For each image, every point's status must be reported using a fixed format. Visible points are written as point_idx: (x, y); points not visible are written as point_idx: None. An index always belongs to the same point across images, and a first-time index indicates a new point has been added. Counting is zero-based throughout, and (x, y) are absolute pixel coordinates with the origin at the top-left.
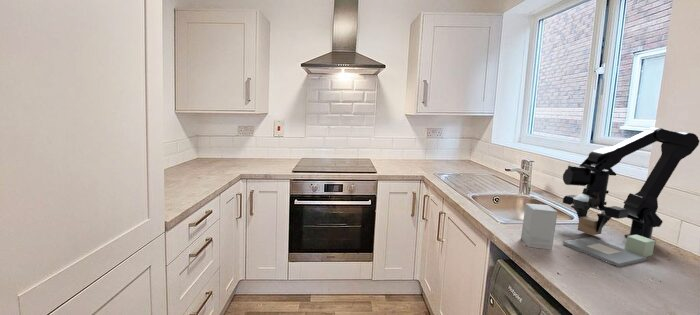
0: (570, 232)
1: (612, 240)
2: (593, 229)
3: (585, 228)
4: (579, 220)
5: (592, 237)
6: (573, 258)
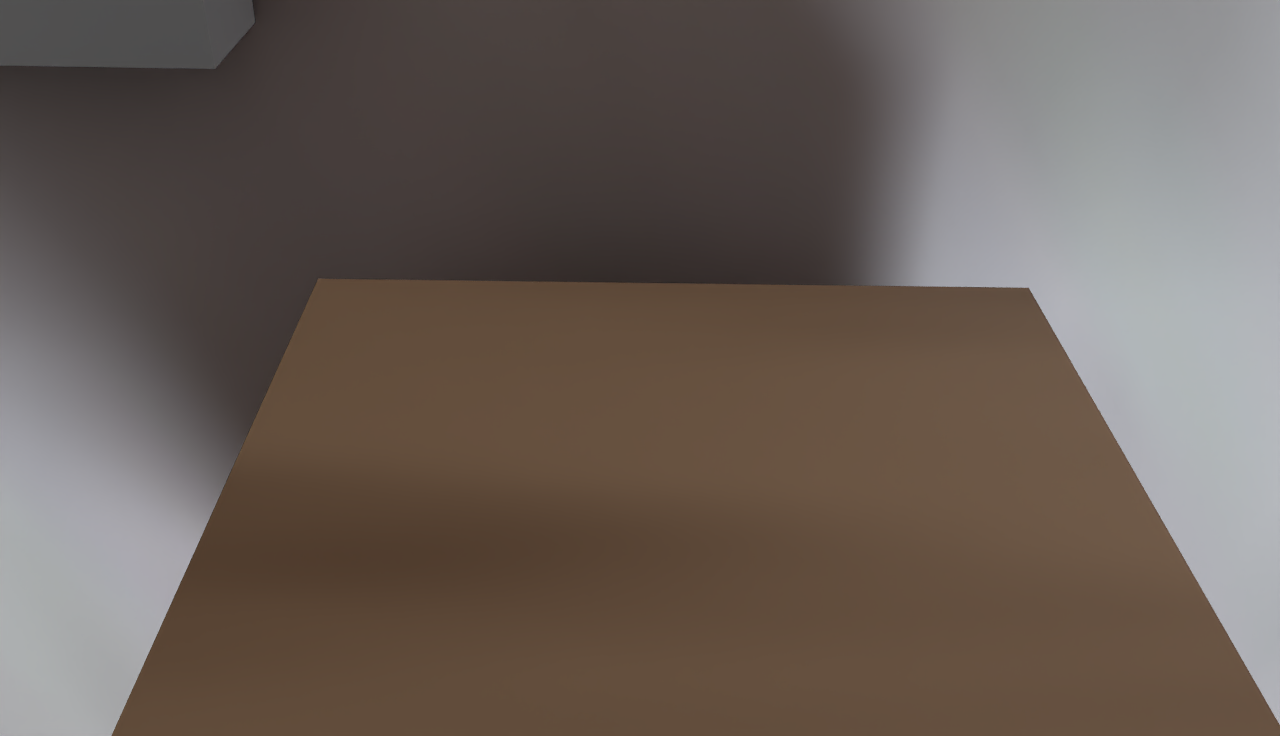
0: (1199, 6)
1: (93, 710)
2: (246, 501)
3: (675, 413)
4: (1223, 685)
5: (115, 46)
6: None
